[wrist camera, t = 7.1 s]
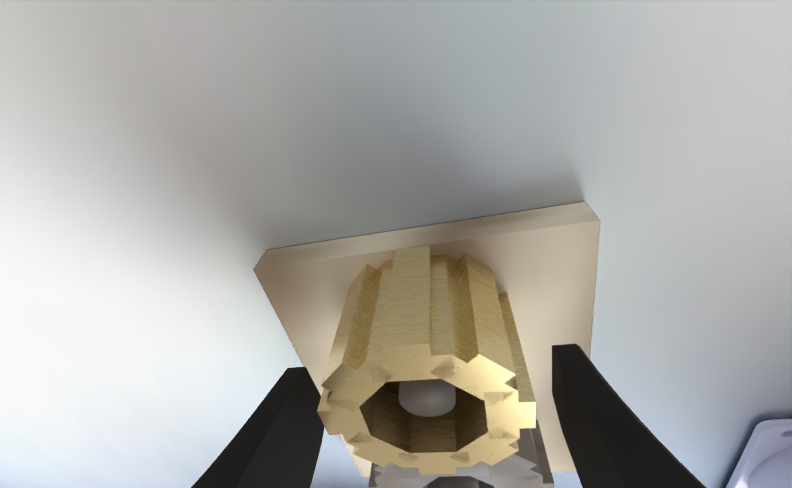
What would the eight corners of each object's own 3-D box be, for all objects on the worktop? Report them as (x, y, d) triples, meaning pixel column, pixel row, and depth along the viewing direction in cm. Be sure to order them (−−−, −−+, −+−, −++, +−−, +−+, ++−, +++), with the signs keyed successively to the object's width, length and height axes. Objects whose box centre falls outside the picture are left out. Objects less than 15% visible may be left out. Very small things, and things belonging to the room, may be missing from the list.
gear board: (585, 201, 12) (660, 296, 8) (573, 446, 19) (608, 557, 15) (266, 250, 14) (202, 344, 10) (365, 454, 21) (351, 553, 17)
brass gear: (504, 235, 11) (536, 335, 8) (510, 360, 14) (535, 473, 11) (328, 257, 12) (288, 354, 9) (368, 369, 15) (349, 475, 12)
